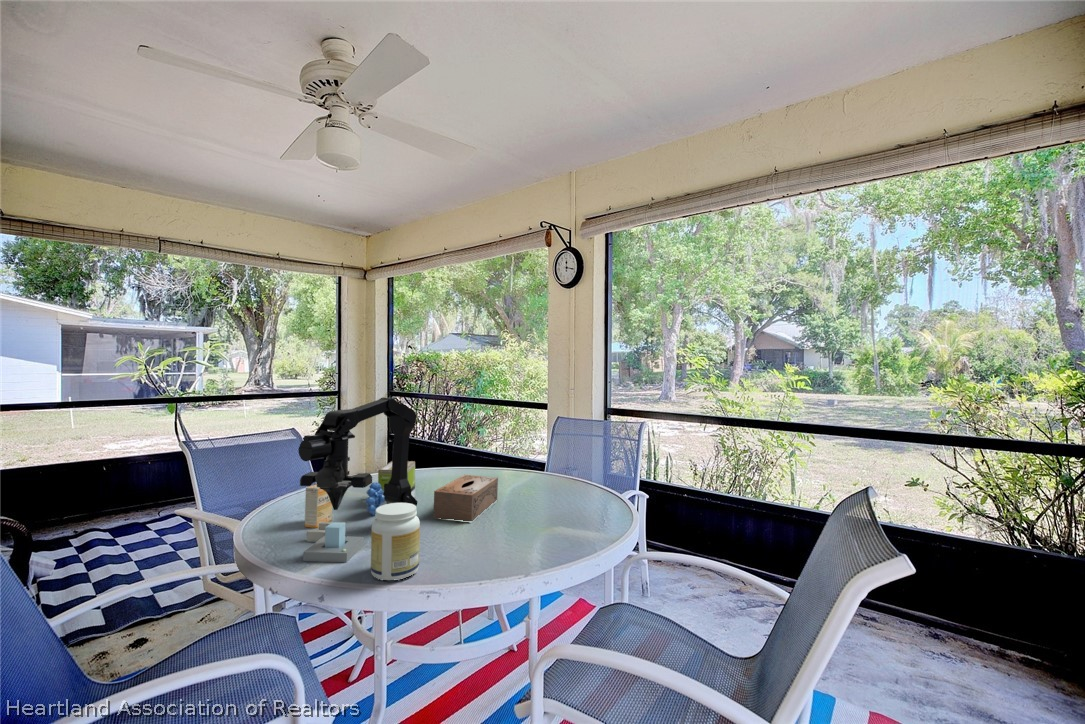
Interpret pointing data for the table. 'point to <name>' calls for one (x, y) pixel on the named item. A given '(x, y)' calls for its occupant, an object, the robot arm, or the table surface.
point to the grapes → (374, 497)
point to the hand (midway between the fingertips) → (335, 509)
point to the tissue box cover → (465, 497)
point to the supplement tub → (395, 541)
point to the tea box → (386, 473)
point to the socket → (333, 550)
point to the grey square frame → (319, 532)
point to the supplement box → (317, 507)
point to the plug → (335, 535)
